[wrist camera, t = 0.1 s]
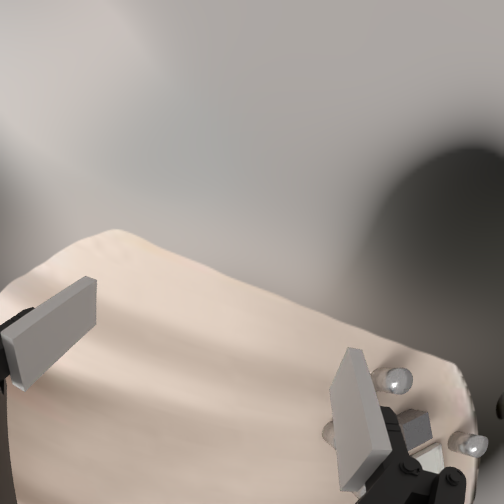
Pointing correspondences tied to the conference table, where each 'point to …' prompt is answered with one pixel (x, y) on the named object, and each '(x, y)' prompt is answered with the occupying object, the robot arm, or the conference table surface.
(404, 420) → the slate cube
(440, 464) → the tray
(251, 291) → the conference table surface
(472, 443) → the cylinder
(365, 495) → the robot arm
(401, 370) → the cylinder
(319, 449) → the conference table surface
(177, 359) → the conference table surface
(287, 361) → the conference table surface
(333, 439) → the cylinder
